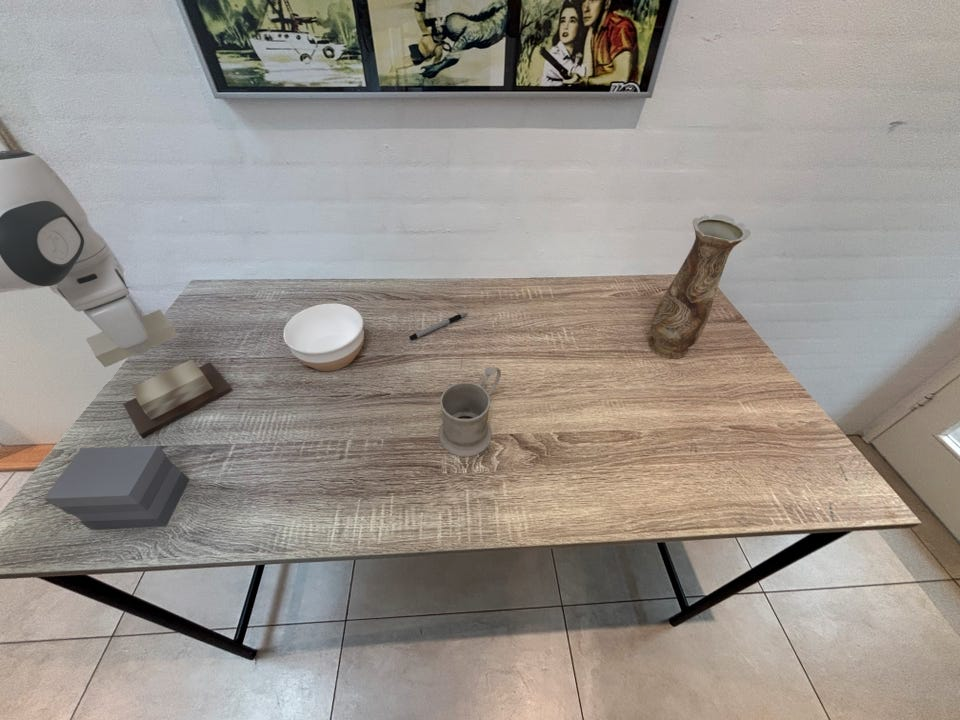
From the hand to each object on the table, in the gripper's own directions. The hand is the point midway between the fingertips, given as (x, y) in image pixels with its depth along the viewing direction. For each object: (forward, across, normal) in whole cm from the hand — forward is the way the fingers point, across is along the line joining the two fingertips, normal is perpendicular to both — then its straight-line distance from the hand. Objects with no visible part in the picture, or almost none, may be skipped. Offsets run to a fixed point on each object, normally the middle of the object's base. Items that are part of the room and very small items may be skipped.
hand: (135, 339), depth 69 cm
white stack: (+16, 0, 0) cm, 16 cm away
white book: (+1, 0, 0) cm, 1 cm away
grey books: (+16, +18, -12) cm, 27 cm away
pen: (+16, +19, +51) cm, 57 cm away
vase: (+16, +61, +84) cm, 105 cm away
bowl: (+16, +9, +28) cm, 33 cm away
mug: (+16, +45, +36) cm, 60 cm away
